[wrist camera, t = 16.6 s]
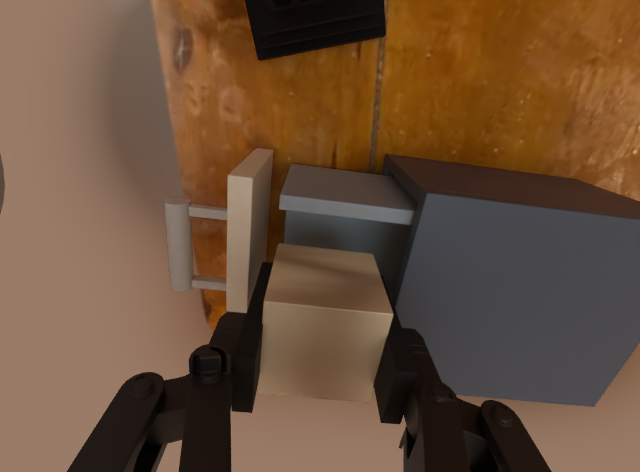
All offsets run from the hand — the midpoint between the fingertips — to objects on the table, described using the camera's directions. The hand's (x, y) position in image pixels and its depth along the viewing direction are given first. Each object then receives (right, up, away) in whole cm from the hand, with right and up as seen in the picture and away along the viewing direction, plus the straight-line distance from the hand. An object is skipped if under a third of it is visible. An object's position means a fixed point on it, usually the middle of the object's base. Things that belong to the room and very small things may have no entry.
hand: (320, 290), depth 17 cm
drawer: (-1, +3, +7) cm, 8 cm away
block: (0, 0, 0) cm, 0 cm away
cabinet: (+11, +2, +9) cm, 14 cm away
